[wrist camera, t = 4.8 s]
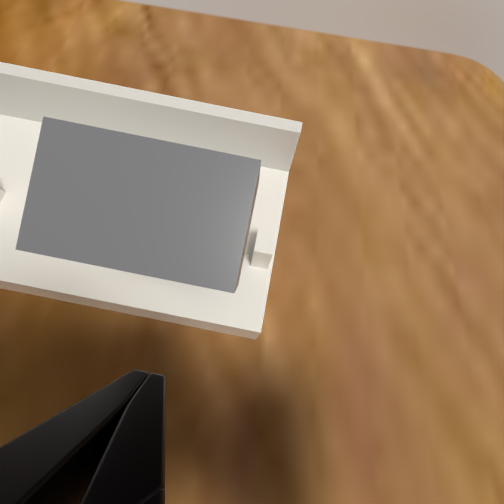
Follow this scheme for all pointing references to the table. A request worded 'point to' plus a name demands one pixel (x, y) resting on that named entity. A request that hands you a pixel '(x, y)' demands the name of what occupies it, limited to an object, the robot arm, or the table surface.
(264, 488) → the table surface
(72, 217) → the lever
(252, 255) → the switch box
